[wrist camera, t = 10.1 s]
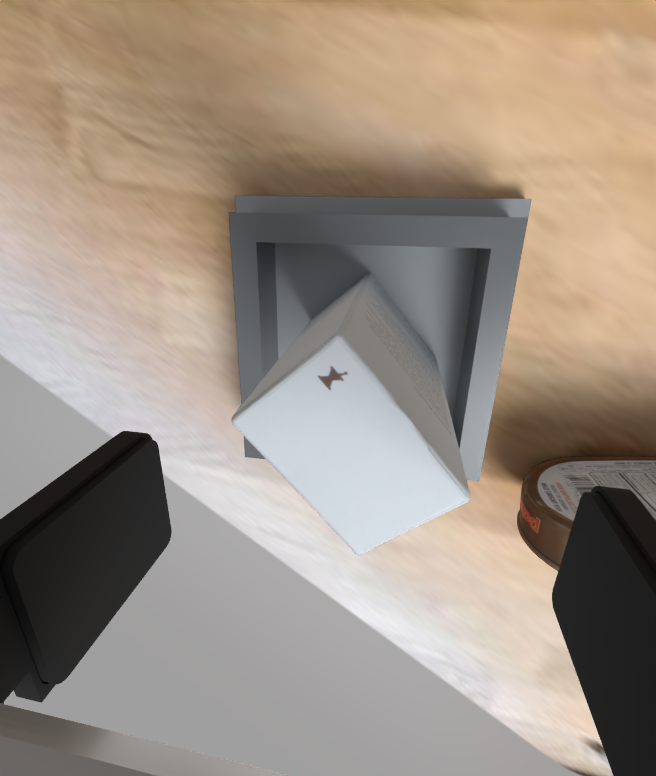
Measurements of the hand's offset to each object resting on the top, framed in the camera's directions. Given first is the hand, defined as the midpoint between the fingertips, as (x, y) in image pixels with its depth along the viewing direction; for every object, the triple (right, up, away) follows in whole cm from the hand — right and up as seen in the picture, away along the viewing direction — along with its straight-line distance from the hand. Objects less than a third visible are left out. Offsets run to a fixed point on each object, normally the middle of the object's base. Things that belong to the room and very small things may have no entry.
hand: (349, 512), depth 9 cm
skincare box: (+2, +5, +13) cm, 14 cm away
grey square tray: (+2, +6, +14) cm, 15 cm away
